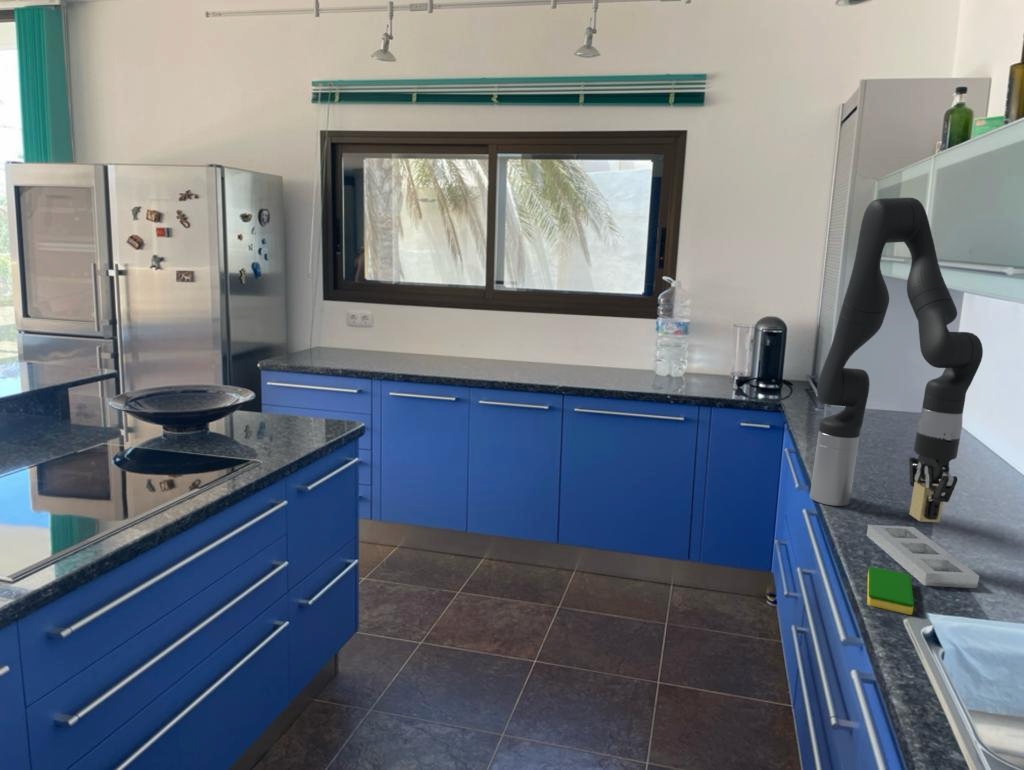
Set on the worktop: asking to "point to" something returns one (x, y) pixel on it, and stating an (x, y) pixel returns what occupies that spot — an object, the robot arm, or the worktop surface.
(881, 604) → the dish sponge
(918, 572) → the rail plate
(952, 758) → the worktop surface
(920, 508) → the brass peg
